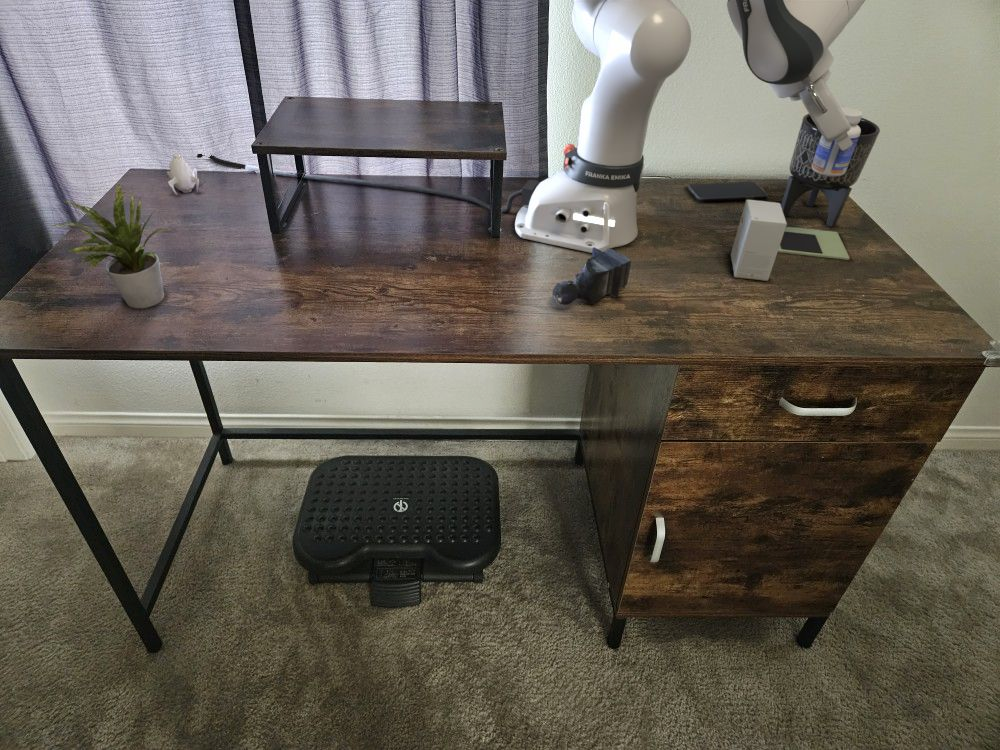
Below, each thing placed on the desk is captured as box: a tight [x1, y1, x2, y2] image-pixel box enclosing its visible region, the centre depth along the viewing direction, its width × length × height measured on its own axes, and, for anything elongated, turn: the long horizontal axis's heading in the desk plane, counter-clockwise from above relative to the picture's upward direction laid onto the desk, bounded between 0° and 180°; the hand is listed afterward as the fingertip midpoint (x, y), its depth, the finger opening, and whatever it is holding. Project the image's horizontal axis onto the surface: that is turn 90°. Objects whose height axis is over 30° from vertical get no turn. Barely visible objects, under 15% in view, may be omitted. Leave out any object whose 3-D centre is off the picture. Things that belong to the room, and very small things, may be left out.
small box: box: [730, 199, 788, 282], centre depth 107 cm, size 8×6×10 cm
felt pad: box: [777, 226, 851, 261], centre depth 118 cm, size 14×10×1 cm
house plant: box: [51, 183, 170, 309], centre depth 93 cm, size 14×14×16 cm
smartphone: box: [687, 180, 769, 203], centre depth 133 cm, size 7×1×15 cm
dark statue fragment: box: [552, 247, 632, 306], centre depth 99 cm, size 6×13×6 cm, turn 130°
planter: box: [780, 113, 881, 228], centre depth 121 cm, size 13×13×18 cm
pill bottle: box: [812, 106, 863, 176], centre depth 105 cm, size 5×5×10 cm
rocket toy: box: [166, 150, 200, 196], centre depth 124 cm, size 5×5×8 cm
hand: (842, 139), depth 105 cm, fingers closed on pill bottle, 5 cm apart
